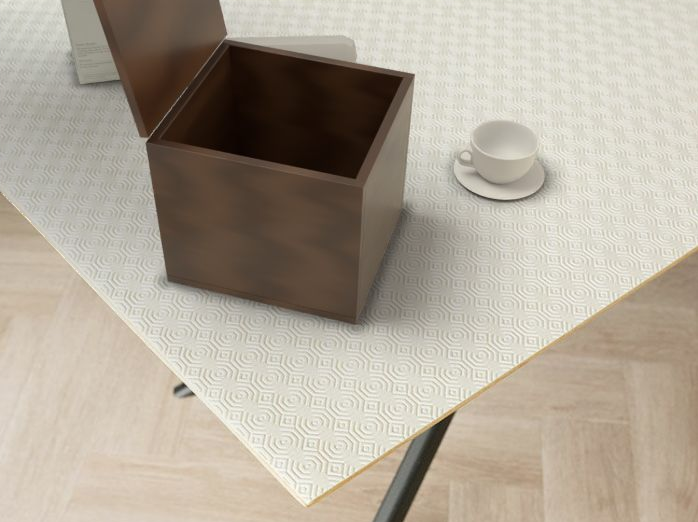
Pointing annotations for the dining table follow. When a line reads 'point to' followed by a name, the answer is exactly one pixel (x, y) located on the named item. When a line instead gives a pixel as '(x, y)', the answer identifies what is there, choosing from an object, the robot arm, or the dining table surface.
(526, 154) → the teacup
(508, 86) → the dining table surface
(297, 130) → the chest
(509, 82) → the dining table surface
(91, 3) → the white packaging box
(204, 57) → the chest lid
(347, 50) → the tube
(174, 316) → the dining table surface
